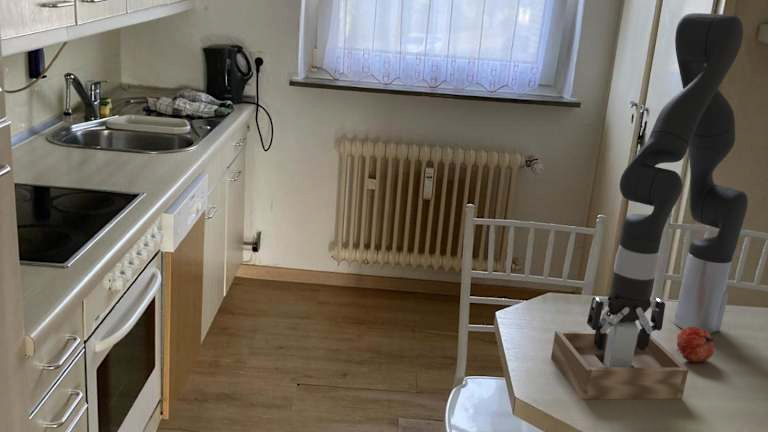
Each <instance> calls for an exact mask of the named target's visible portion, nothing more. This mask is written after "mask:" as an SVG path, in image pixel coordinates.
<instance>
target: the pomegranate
mask: <svg viewBox="0 0 768 432" xmlns="http://www.w3.org/2000/svg"><path fill="white" fill-rule="evenodd" d="M676 338H677V341H676V346H677V348H678V349H676V351H678V352H679V351H680V353H681V355H682V358H683V359H684V360H686V361H687V362H690V363H698V362H705V361H708V360H710V359H711V358H712V356H713V355H714V353H715V342H716V340H715V339H714V338H712V335H711V334H709V333H708V332H707V331H705V330H702V329H700V328H698V327H695V326H693V327H687V328H685V329H682V330H680V331H679V333H678V334H677V336H676Z"/></svg>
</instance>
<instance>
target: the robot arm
mask: <svg viewBox="0 0 768 432" xmlns="http://www.w3.org/2000/svg"><path fill="white" fill-rule="evenodd" d="M743 37H744V26H743V23H742V20H741V19H740V17H738V16H737V15H732V14H723V13H721V14H719V13H705V12H704V13H702V12H701V13H697V12H696V13H695V12H693V13H687V14H684V15H683V16H682V17H681V18H680V19H679V21H678V22H677V26H676V30H675V36H674V43H675V44H674V46H675V47H674V48H675V55H676V59H677V65H678V71H679V76H680V81H681V85H682V89H681V90H680V91H679V92H678V93H677V94H676V95H674V96H673V97H672V98H671V99H669V100H668V101H667V103H665V105H664V106H663V107H662V109H661V110H660V112H659V113H658V116H657V118H656V120H655V122H654V124H653V127H652V129H651V131H650V134H649V137H648V139H647V141H646V142H645V143H644V145H643V146H642V148H641V149H640V150H639V152H638V153H637V154H636V155H635V157H634V158H633V159H632V160H631V161H630V163H629V164H627V166H626V168H625V169H624V171H623V173H622V174H621V176H620V180H619V191H620V194H621V196H622V197H623V198H624V199H626V200H628V201H630V202H634V203H639V204H642V205H646V206H650V207H653V210H652V212H651V213H649V214H643V213H639V214H638V213H637V214H636V213H635V214H634V213H633V214H630V215H627V216H626V217H625V219H624V220H623V225H622V229H621V233H620V241H619V245H618V248H617V252H616V255H615V260H614V267H613V271H612V276H611V277H612V278H611V283H610V288H609V289H610V291H609V292H610V293H609V295H608V297H607V298H599V297H598V296H597V295H595V296H593V297H592V299H591V303H590V308H589V312H588V315H587V320H586V323H587V325H588V327H590V328H591V330H592V331H595V338H594V344H595V346H596V347H597V348H598V350H604V346H605V340H606V335H607V334H606V333H605V332H608V330H610V327H611V326H614V325H615V324H616V323H617V322H618V321H620V322H626V321H630V322H635V323H636V322H638V324H639V326H640V327H641V328H639V331H638V332H639V335H638V341H637V347H638V348H639V349H640V350H645V348H647V347H648V344H649V339H650V335H652V333H653V332H654V331H661V330H662V329H663V324H664V318H665V317H664V316H665V309H666V302H664V301H663V300H662V299H661V298H659V297H658V296H655V297H654V298H653V299H651V297H652V294H653V290H654V284H655V281H656V275H657V271H658V265H659V264H658V263H659V254H660V253H659V252H660V247H661V241H662V237H663V233H664V228H665V226H666V224H667V221H668V219H669V217H670V215H671V213H672V211H673V209H674V208H675V206H676V203H677V202H678V200H679V198H680V196H681V194H682V190H683V180H682V178H681V175H680V174H679V173H678V172H677V171H675V170H672V169H667V168H663V167H659V166H658V165H661V164H666V163H667V164H668V163H669V164H672V163H678V162H681V161H682V160H683V159H684V157H685V155H686V153H687V152H688V155H689V171H690V173H689V174H690V175H689V178H690V179H689V182H690V183H689V211H690V215H691V218H692V219H693V220H694V221H695V222H697V223H699V224H701V225H705V226H709V227H712V228H715V229H718V232H717V235H716V236H712V237H708V236H707V237H698V238H694V239H693V240H691V241H690V244H689V248H688V253H687V257H686V262H685V267H684V272H683V276H682V281H681V286H680V290H679V295H678V299H677V300H678V301H677V304H676V310H675V314H674V318H673V322H674V324H675V325H676V326H677V327H679V328H680V329H682V330H683V329H685V328H687V327H693V326H695V327H698V328H700V329H702V330H705V331H707V332H708V333H709V334H710V335H711V334H714V333H716V332H721V327H722V324H723V319H724V315H725V310H726V305H727V302H728V297H729V292H728V291H726V288H727V283H728V279H729V276H730V275H729V274H730V270H731V266H732V263H733V258H734V253H735V251H736V248H737V246H738V242H739V238H740V234H741V232H742V228H743V224H744V221H745V217H746V214H747V210H748V203H749V202H748V196H747V194H746V192H744V191H742V190H739V189H735V188H731V187H728V186H723V185H719V184H716V183H715V182H714V180H713V174H714V171H715V169H716V168H717V167H718V166H719V165H720V164H721V162H722V161H724V159H725V158H726V157H727V156H728V154H730V152H731V151H732V149H733V147H734V146H735V145H734V144H735V143H736V126H735V125H736V120H735V119H736V118H735V112H734V109H733V108H732V106H731V103H729V101H728V99H726V97H725V96H724V94H723V93H722V92H721V91H720V90H719V88H720V87H721V85H722V83H723V81H724V79H725V77H726V76H727V74H728V72H729V71H730V69H731V67H732V66H733V64H734V62H735V60H736V59H737V57H738V54H739V51H740V49H741V47H742V42H743ZM606 307H607V309H605V308H606ZM649 309H651V313H650V314H651V315H650V320H649V319H648V317H647V316H646V313H647V311H649ZM603 311H604V312H603ZM602 312H603V313H602ZM612 315H613V317H612Z"/></svg>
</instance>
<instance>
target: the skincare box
mask: <svg viewBox="0 0 768 432" xmlns="http://www.w3.org/2000/svg"><path fill="white" fill-rule="evenodd" d="M612 317H613V315H611V318H612ZM608 330H609V331H608V332H609V335H608V340H607V346H606V351H605V356H604V361H603V365H604V366H605V367H631V366H632V361H633V356H634V351H635V346H636V341H637V336H638V332H639V330H640V328H639V327H638V325H637V323H636V322H630V321H626V322H620V321H618V322H617V323H616V324H615V325H614V326H611V327H610V328H609V329H608Z"/></svg>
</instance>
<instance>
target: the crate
mask: <svg viewBox="0 0 768 432" xmlns="http://www.w3.org/2000/svg"><path fill="white" fill-rule="evenodd" d="M595 332H596V330H592V331H591V330H590V331H587V330H586V331H584V330H583V331H579V330H575V331H574V330H573V331H572V330H566V331H565V330H556V331H554V338H553V343H552V351H551V355H550V359H551V361H552V362H553V364H555V365H556V367H557V369H559V371H560V372H561V374H562V375H563V376H564V377H565V379H566V380H567V381H568V383H569V384H570V386H571V387H572V389H574V392H576V393H577V395H578V396H579V398H580V399H581V400H683V396H684V392H685V387H686V384H687V379H688V375H689V369H687V367H686V366H685V365H683V364H682V362H680V361H679V360H678V359H677V358H676V357H675V356H674V355H673V354H672V353H671V352H670V351H669V350H668V349H666V348H665V347H664V346H663V345H662V344H661V343H660V342H659V341H658V340H657V339H656V338H655V337H654V336H653V335H652V334H650V339H649V344H648V347H647V348H645V350H640V349H639V348H638V347H637V341H638V336H637V341H636V346H635V351H634V356H633V361H632V366H631V367H605V366H604V365H603V361H604V356H605V351H606V346H607V340H608V335H609V331H606V332H605V333H606V334H607V335H606V340H605V346H604V350H598V348H597V347H596V346H595V344H594V338H595ZM638 335H639V331H638Z"/></svg>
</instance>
